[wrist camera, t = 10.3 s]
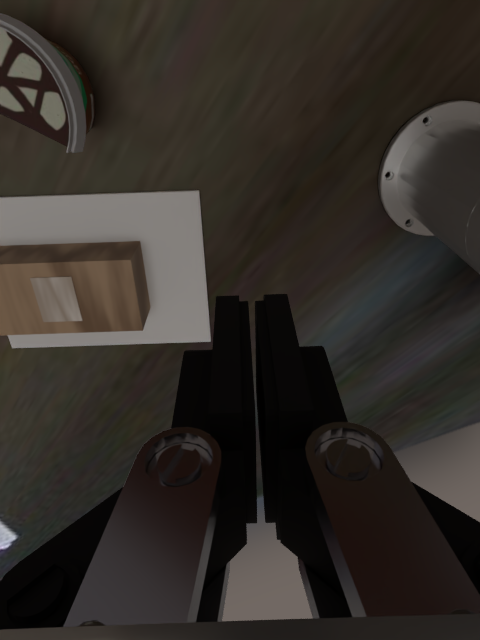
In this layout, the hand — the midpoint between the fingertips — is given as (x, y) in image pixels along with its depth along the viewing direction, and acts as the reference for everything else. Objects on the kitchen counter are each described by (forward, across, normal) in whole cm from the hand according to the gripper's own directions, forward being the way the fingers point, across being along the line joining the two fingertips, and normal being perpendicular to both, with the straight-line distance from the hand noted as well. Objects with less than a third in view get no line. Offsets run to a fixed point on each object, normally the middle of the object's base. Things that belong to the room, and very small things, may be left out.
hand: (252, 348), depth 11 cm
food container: (+35, +16, -6) cm, 39 cm away
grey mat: (+35, +16, +14) cm, 41 cm away
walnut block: (+32, +11, +14) cm, 37 cm away
